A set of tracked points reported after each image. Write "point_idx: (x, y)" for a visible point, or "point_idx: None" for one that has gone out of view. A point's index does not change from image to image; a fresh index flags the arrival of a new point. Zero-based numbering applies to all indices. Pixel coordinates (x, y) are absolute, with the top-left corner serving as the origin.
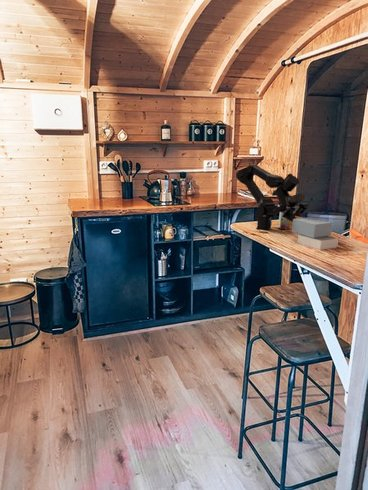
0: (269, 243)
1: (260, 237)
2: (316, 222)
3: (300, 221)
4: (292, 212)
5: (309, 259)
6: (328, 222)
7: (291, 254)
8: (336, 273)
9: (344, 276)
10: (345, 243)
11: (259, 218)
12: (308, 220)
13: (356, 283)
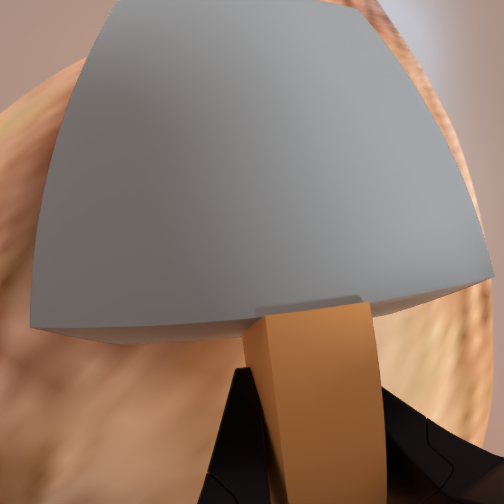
0: (487, 296)
1: (469, 442)
2: (289, 20)
3: (439, 140)
4: (491, 487)
5: (405, 66)
6: (150, 1)
7: (447, 120)
8: (380, 11)
9: (372, 3)
10: (29, 146)
11: None
12: (319, 99)
13: None
